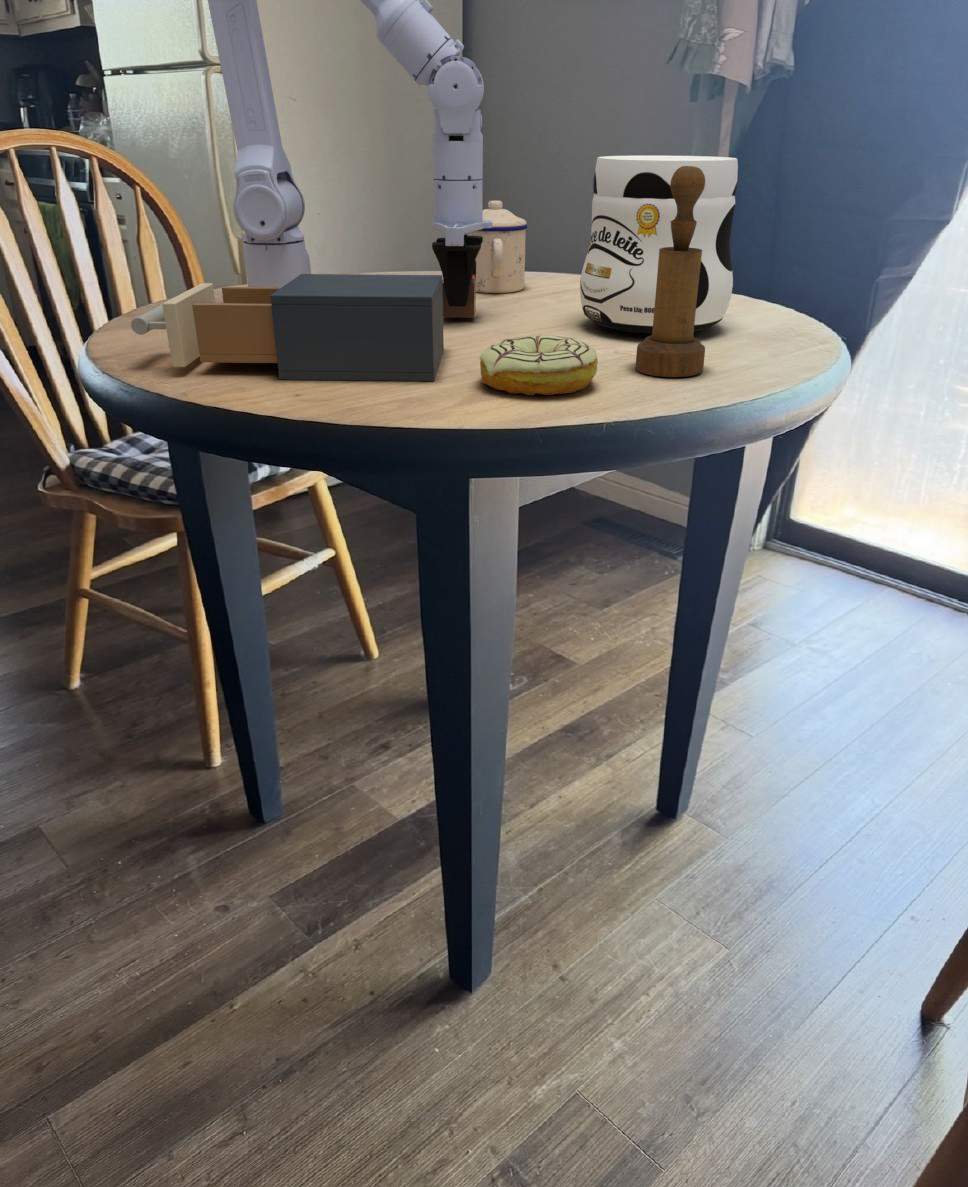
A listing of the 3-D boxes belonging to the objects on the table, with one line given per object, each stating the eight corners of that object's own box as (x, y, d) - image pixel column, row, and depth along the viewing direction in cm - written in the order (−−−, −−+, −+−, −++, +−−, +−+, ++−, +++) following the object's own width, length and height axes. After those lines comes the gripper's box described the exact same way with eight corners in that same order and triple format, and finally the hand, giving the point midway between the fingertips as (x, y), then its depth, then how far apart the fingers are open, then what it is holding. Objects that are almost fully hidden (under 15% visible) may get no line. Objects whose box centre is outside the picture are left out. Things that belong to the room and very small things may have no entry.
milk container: (554, 334, 100) (561, 158, 92) (608, 308, 114) (618, 154, 105) (703, 350, 93) (726, 162, 84) (742, 321, 107) (765, 157, 98)
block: (443, 311, 109) (443, 277, 107) (475, 311, 109) (475, 277, 107) (441, 317, 106) (440, 282, 104) (474, 317, 105) (474, 283, 104)
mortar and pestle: (656, 358, 90) (675, 163, 81) (714, 368, 86) (740, 165, 78) (622, 371, 85) (638, 166, 77) (682, 382, 82) (706, 168, 73)
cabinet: (279, 379, 82) (269, 295, 78) (307, 348, 93) (300, 273, 90) (434, 381, 82) (431, 296, 78) (443, 350, 93) (442, 275, 89)
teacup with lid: (462, 283, 131) (461, 198, 125) (522, 283, 131) (524, 198, 126) (465, 298, 120) (464, 205, 115) (530, 297, 121) (533, 205, 115)
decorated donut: (482, 369, 86) (482, 330, 84) (592, 371, 85) (595, 331, 83) (476, 398, 77) (476, 355, 75) (599, 400, 76) (602, 357, 74)
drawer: (128, 366, 83) (116, 303, 80) (170, 340, 93) (160, 282, 90) (314, 368, 82) (308, 304, 79) (336, 341, 92) (331, 284, 89)
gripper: (491, 183, 94) (489, 314, 100) (494, 176, 106) (492, 292, 113) (425, 183, 94) (428, 313, 100) (436, 175, 107) (438, 291, 113)
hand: (458, 302), depth 107 cm, fingers closed on block, 4 cm apart
